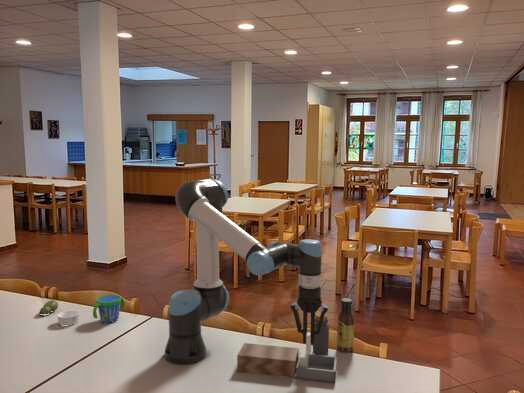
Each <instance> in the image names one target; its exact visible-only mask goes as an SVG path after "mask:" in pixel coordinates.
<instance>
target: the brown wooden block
mask: <svg viewBox="0 0 524 393" xmlns="http://www.w3.org/2000/svg"><path fill="white" fill-rule="evenodd" d="M299 351H300V350H299V347H291V346H289V347H288V346H279V345H268V344H260V343H259V344H258V343H249V342H244V343H243V344H242V346H241V348H240V350H239V351H238V353H237V355H236V366H237V367H236V369H237V370H236V371H237V373H245V374H246V373H247V374H255V375H256V374H257V375H263V376H274V377H283V378H289V379H290V378H292V379H296V366H297V363H298V359H299V356H300V352H299Z"/></svg>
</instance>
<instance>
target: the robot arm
mask: <svg viewBox="0 0 524 393" xmlns="http://www.w3.org/2000/svg"><path fill="white" fill-rule="evenodd" d="M228 200H229V193H228V190H227V187H226V185H225V184H223V182H222V181H221V180H219V179H214V178H204V179H197V180H187V181H185V182H183V183H182V184H181V185H180V186H179V187H178V188H177V190H176V192H175V203H176V207H177V208H178V210H179V211H180V212H181V213H182V215H183V216H185V217H186V218H187V219H188V220H190V221H191V222H194V221H195V222H196V223H195V224H196V226H195V227H196V277H197V278H196V280H195V281H194V282H193V283H192V284H193V289H192V288H191V289H190V288H189V289H188V288H187V289H185V290H183V289H181V290H178V291H176V292H175V293H173V294H172V295H171V296H170V298H169V299H168V308H167V310H168V328H169V329H168V333H169V335H168V339H167V342H166V344H165V345H166V346H165V348H164V359H165V361H167V362H169V363H171V364H176V365H189V364H194V363H197V362H199V361H201V360H204V358H205V357H206V355H207V348H206V344H205V341H204V338H203V336H202V322H205V321H207V320H209V319H211V318H212V317H215V316H218V315H220V314H221V313H222V312H224V311H225V310H226V309H227V307H228V306H229V301H230V294H229V292H228V290H227V287H226V286H225V285H224V281H222V280H221V279H220V242H222V243H223V244H224V245H226V246H227V247H228V248H230V249H231V250H232V251H233V252H235V253H236V254H237V255H238V256H239V257H240V258H242V259H243V260H244V261H245V262H246V266H247V268H248V271H249V272H250V273H251V274H252V275H255V276H263V275H267V274H269V273H271V272H273V271H275V270H277V269H279V268H282V267H284V266H291V267H297V268H298V292H297V293H298V297H297V300H296V301H295V302H292V303H291V304H290V309H291V311H292V313H293V315H294V316H293V318H294V320H295V325H296V329H297V332H298V333H300V334H302V343H303V344H305V350H306V354H312V345H313V344H314V337H315V334H319V333H320V329H321V326H322V322H323V318H324V315H325V313H326V314H327V312H328V310H329V306H328V305H325V304H324V303H323V301H322V297H321V296H322V294H321V293H322V291H321V290H322V287H321V285H322V257H323V253H322V252H323V250H322V242H320V240H317V239H310V238H309V239H308V238H307V239H306V238H305V239H301V240H300V241H299V242H298V243H299V244H297V243H296V244H294V243H288V242H282V241H270V242H269V243H268V245H267V246H265V245H264V244H262V243H261V242H260V241H259V240H257V239H255V238H254V237H253V236H251V235H250V234H249V233H248V232H246V231H245V230H244V229H242V228H241V227H240V226H239V225H238V224H236V223H235V222H233V221H232V220H231V219H229V218H228V217H227V216H226V215H225V214H223V207H225V206H226V204H227V203H228ZM299 309H300V310H301V311H302V322H301V318H300V313H299ZM319 309H320V311H321V315H320V319H319V322H318V326H317V329H315V318H316V317H315V314H316V313H317V311H318V310H319ZM308 313H310V331H308Z"/></svg>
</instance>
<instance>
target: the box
mask: <svg viewBox="0 0 524 393" xmlns="http://www.w3.org/2000/svg"><path fill="white" fill-rule="evenodd" d="M300 354H301V352H299V357H300ZM337 362H338V356H334V355H333V356H331V355H315V354H314V353H310V354H309V367H308V368H305V367H299V359H298V363H297V366H296V375H295V379H296V380H303V381H313V382H321V383H322V382H323V383H331V384H336V377H337Z"/></svg>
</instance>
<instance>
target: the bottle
mask: <svg viewBox="0 0 524 393" xmlns="http://www.w3.org/2000/svg"><path fill="white" fill-rule="evenodd" d="M321 312H322V311H321ZM321 312H320V311H319V312H315V329H317V326H318V322H319V319H320V315H321ZM329 337H330V327H329V319H328V314H327V312H326V313H325V315H324V318H323V322H322V326H321V329H320V333H319V334H315V337H314V344H312V354H314V355H325V356H328V354H329V344H330V343H329V342H330V341H329V340H330V339H329Z"/></svg>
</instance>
